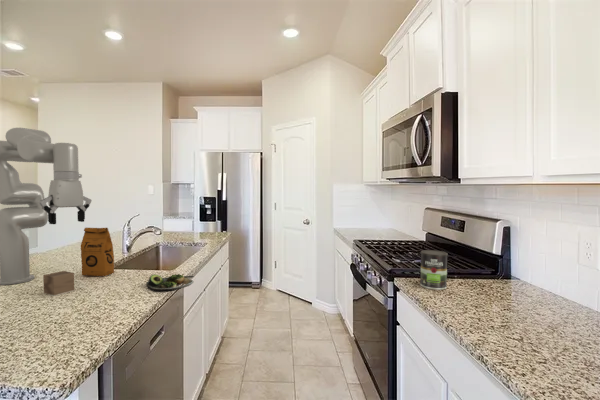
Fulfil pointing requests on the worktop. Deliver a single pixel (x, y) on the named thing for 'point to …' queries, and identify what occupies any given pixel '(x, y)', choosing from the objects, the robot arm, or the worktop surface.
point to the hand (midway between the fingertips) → (67, 222)
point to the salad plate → (168, 282)
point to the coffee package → (97, 252)
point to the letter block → (58, 283)
